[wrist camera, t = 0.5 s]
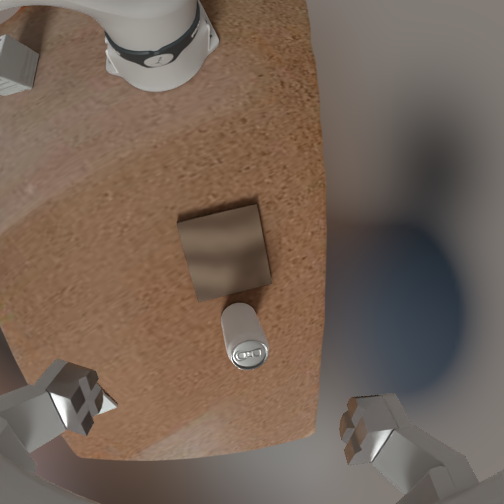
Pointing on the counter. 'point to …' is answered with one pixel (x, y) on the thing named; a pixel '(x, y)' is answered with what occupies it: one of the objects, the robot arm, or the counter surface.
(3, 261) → the counter surface
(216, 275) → the walnut board
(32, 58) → the supplement box
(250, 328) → the can
